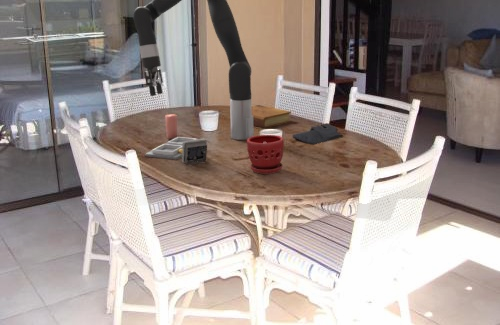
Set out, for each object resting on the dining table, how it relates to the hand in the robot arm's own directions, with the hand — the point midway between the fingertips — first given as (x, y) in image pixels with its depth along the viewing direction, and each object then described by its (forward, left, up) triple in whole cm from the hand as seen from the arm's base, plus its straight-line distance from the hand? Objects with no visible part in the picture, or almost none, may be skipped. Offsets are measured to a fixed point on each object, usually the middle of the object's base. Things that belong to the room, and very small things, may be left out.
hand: (156, 94), depth 242 cm
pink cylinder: (-2, -7, -20) cm, 22 cm away
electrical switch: (-29, +23, -21) cm, 43 cm away
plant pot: (-57, +23, -21) cm, 65 cm away
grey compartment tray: (-13, +10, -20) cm, 26 cm away
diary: (-28, -49, -21) cm, 60 cm away
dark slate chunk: (-63, -28, -21) cm, 72 cm away
